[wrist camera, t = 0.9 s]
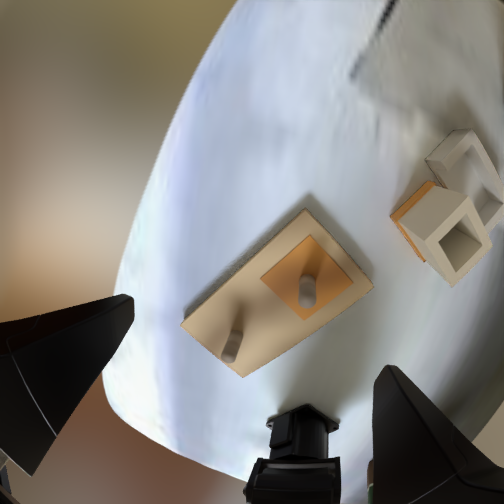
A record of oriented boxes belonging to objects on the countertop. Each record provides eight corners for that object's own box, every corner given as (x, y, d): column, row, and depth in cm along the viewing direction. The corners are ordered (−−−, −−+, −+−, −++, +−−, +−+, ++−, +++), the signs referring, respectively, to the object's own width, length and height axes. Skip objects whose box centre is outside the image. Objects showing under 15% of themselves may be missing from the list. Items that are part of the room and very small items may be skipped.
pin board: (371, 281, 20) (383, 307, 17) (244, 371, 26) (236, 400, 22) (305, 207, 19) (306, 220, 16) (183, 319, 25) (166, 345, 21)
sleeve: (454, 222, 17) (495, 246, 12) (418, 256, 19) (451, 291, 13) (427, 180, 17) (468, 191, 11) (389, 216, 18) (420, 240, 13)
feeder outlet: (493, 198, 16) (511, 205, 13) (467, 228, 17) (484, 238, 15) (453, 130, 15) (472, 128, 12) (424, 159, 16) (441, 161, 14)
